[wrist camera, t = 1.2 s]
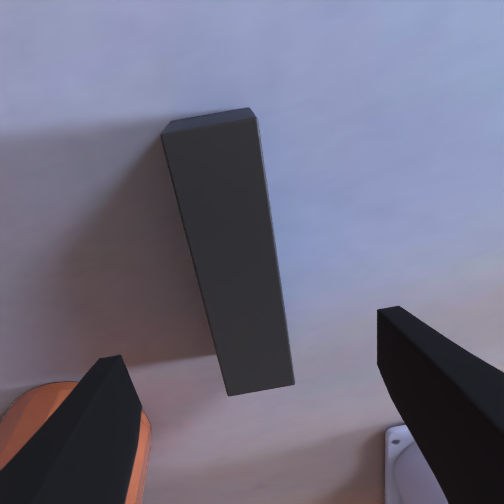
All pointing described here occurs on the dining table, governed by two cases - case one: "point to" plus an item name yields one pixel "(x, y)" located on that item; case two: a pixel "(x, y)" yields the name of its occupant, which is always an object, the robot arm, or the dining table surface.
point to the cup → (36, 414)
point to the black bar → (232, 244)
